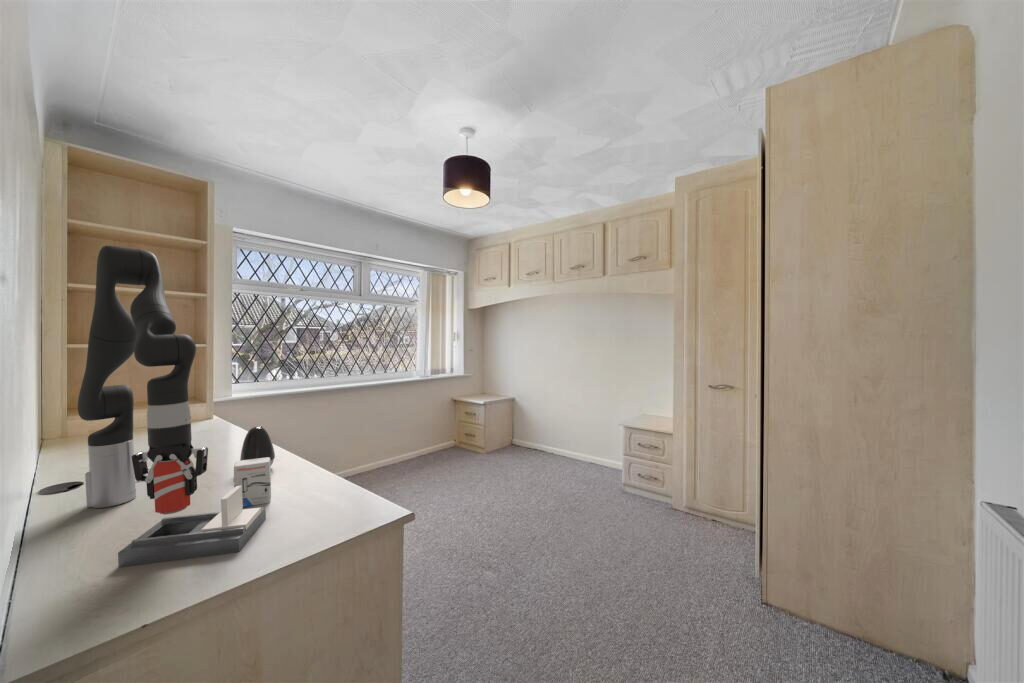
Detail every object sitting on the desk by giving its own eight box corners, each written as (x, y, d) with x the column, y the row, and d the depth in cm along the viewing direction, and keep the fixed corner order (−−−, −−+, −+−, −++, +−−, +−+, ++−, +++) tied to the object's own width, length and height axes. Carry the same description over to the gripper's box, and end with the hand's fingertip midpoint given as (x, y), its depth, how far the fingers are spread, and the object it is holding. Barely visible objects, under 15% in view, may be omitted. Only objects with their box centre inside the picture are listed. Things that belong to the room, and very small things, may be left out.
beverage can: (177, 502, 96) (175, 452, 96) (197, 505, 94) (195, 454, 94) (148, 514, 90) (145, 460, 90) (168, 517, 89) (166, 462, 88)
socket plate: (118, 567, 84) (117, 548, 83) (165, 530, 99) (164, 513, 99) (239, 551, 89) (238, 533, 88) (265, 518, 104) (265, 503, 104)
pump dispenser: (278, 463, 148) (276, 422, 147) (271, 473, 138) (269, 428, 138) (246, 467, 145) (244, 424, 144) (236, 477, 135) (234, 431, 134)
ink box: (233, 509, 110) (232, 466, 110) (236, 502, 114) (234, 461, 114) (270, 502, 114) (269, 461, 114) (271, 496, 118) (270, 456, 118)
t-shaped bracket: (201, 534, 90) (200, 502, 90) (220, 516, 99) (219, 486, 98) (246, 529, 92) (244, 497, 92) (261, 512, 101) (260, 483, 100)
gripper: (119, 429, 87) (123, 506, 87) (197, 424, 90) (200, 499, 90) (142, 421, 94) (146, 493, 94) (213, 417, 97) (217, 486, 98)
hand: (173, 495), depth 92 cm, fingers closed on beverage can, 6 cm apart
